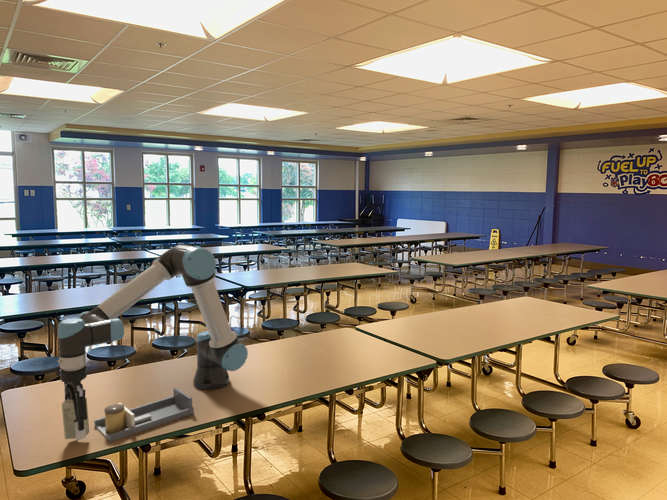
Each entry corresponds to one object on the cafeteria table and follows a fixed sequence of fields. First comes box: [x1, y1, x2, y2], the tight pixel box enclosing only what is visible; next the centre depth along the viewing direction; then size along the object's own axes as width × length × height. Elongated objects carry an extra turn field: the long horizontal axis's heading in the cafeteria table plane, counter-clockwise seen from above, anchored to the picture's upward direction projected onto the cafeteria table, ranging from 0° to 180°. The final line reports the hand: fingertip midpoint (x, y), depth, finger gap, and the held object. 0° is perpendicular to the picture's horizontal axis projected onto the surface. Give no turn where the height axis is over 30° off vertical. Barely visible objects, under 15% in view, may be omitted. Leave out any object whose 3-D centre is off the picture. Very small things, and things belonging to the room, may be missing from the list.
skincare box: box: [61, 397, 90, 440], centre depth 154 cm, size 6×4×12 cm
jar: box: [104, 403, 125, 434], centre depth 163 cm, size 6×6×8 cm
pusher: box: [117, 402, 151, 428], centre depth 169 cm, size 12×9×6 cm
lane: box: [93, 387, 195, 443], centre depth 171 cm, size 15×30×6 cm, turn 135°
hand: (77, 434), depth 155 cm, fingers closed on skincare box, 7 cm apart
